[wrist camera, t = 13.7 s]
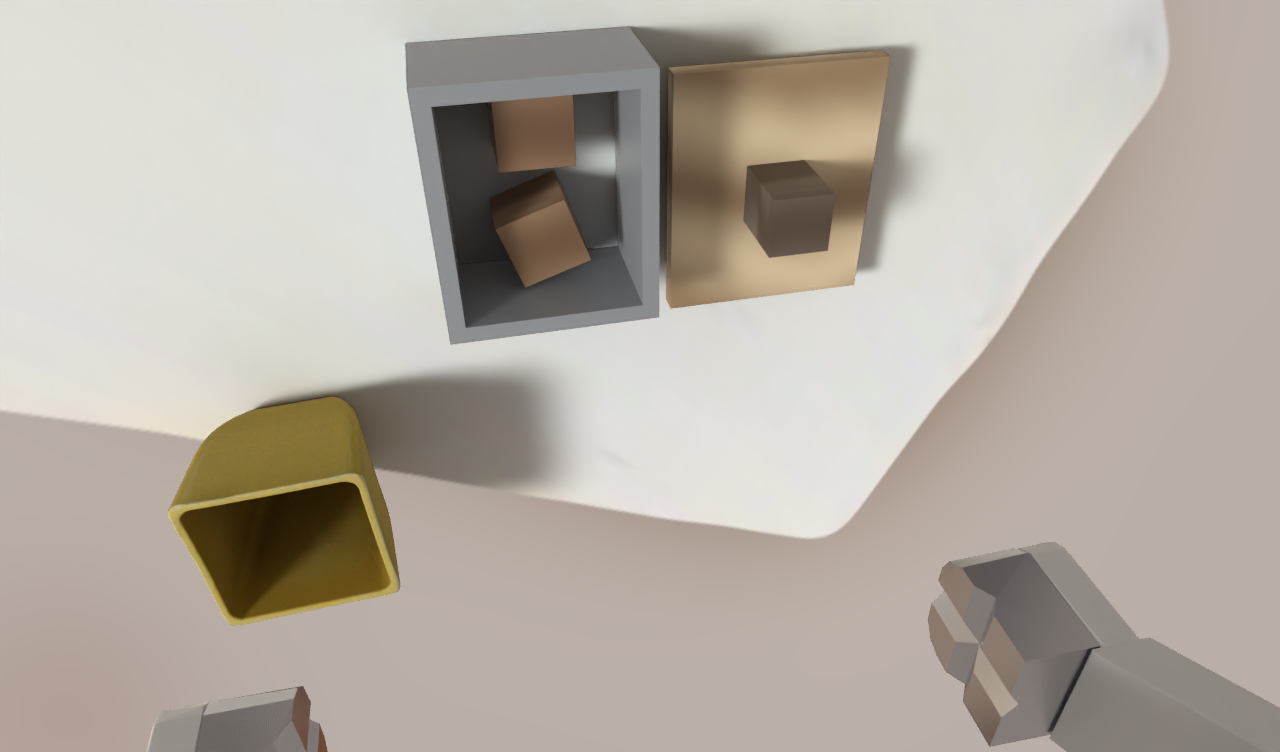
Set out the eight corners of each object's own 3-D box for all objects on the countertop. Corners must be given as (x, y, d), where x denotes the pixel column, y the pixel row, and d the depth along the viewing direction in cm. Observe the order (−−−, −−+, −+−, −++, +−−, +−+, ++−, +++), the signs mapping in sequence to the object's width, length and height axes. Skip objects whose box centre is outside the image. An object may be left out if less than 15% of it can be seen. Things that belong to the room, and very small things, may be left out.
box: (405, 43, 38) (406, 88, 34) (629, 26, 40) (659, 67, 35) (444, 280, 46) (450, 344, 41) (633, 257, 47) (659, 317, 43)
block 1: (484, 69, 40) (490, 95, 37) (560, 63, 41) (572, 88, 38) (492, 143, 42) (498, 172, 39) (564, 136, 43) (575, 165, 40)
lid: (662, 59, 42) (697, 104, 37) (870, 42, 43) (930, 83, 39) (661, 287, 49) (689, 350, 44) (838, 265, 51) (884, 323, 46)
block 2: (489, 197, 44) (495, 229, 41) (553, 169, 44) (564, 199, 41) (518, 253, 46) (525, 287, 43) (579, 227, 46) (591, 259, 43)
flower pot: (401, 478, 53) (402, 595, 46) (251, 506, 52) (228, 630, 45) (366, 361, 48) (361, 472, 41) (197, 389, 46) (162, 509, 39)
